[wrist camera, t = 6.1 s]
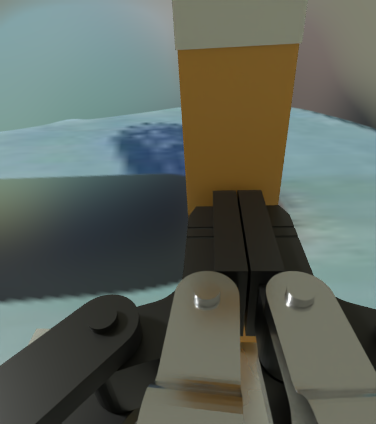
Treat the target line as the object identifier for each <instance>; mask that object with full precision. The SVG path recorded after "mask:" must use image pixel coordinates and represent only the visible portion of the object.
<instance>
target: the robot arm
mask: <svg viewBox="0 0 376 424" xmlns="http://www.w3.org/2000/svg"><path fill="white" fill-rule="evenodd" d="M244 326H245V334H246V336H256V341H257V348H258V354H257V371H258V375H259V380H260V385H261V390H262V394H263V399H264V404H265V408H266V413H267V418H268V422H269V424H376V309H372V308H368V307H364V306H360V305H356V304H352V303H349V302H346V301H343V300H341V299H339V298H337V297H335V296H334V294H333V292H332V291H331V289H330V288H329V287H328V286H327V285H326V284H325V283H324V282H323V281H321V280H320V279H318V278H317V277H315V276H314V275H313V273H312V270H311V268H310V265H309V263H308V260H307V258H306V255H305V253H304V250H303V248H302V245H301V243H300V240H299V238H298V235H297V232H296V230H295V228H294V225H293V222H292V220H291V217H290V215H289V214H288V213H287V212H286V211H285V210H284V209H283V208H281V207H280V206H279V205H266V204H265V200H264V197H263V194H262V191H261V190H237V194H236V190H221V191H213V206H196V207H195V209H194V210H193V211H192V212H191V214H190V215H189V218H188V230H187V239H186V250H185V261H184V271H183V278H182V281H181V282H180V283H179V284H178V286H177V288H176V290H175V291H174V292H173V293H172V294H170V295H169V296H167V297H166V298H164V299H162V300H159V301H156V302H153V303H149V304H145V305H142V306H138V307H136V305H135V304H134V303H133V302H132V301H131V300H130V299H128V298H126V297H124V296H120V295H104V296H100V297H97V298H95V299H93V300H91V301H89V302H87V303H86V304H84V305H83V306H81V307H80V308H79V309H77V310H76V311H75V312H73V313H72V314H71V315H69V316H68V317H66V318H65V319H64V320H62V321H61V322H60V323H58V324H57V325H55V326H54V327H53V328H51V329H50V330H49V331H47V332H46V333H44V334H43V335H42V336H40V337H39V338H38V339H36V340H35V341H33V342H32V343H31V344H29V345H28V346H27V347H25V348H24V349H23V350H21V351H20V352H18V353H17V354H16V355H14V356H13V357H12V358H10V359H9V360H7V361H6V362H5V363H3V364H2V365H1V366H0V424H135V423H136V421H137V420H138V421H137V424H243V399H242V393H241V371H240V336H243V331H244Z"/></svg>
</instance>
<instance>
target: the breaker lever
mask: <svg viewBox="0 0 376 424" xmlns="http://www.w3.org/2000/svg"><path fill="white" fill-rule="evenodd" d="M307 3H308V0H172V7H173V21H174V36H175V50H178V64H179V78H180V95H181V110H182V126H183V141H184V157H185V172H186V188H187V203H188V218H189V215H190V214H191V212H192V211H193V210H194V209H195V207H196V206H213V191H221V190H236V194H237V190H261V191H262V194H263V197H264V200H265V204H266V205H278V201H279V194H280V186H281V178H282V171H283V163H284V156H285V148H286V140H287V133H288V125H289V118H290V110H291V103H292V95H293V87H294V80H295V72H296V64H297V57H298V50H299V43H302V39H303V32H304V24H305V17H306V10H307ZM240 342H255V343H257V341H256V336H246V334H245V326H244V331H243V336H240Z"/></svg>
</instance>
